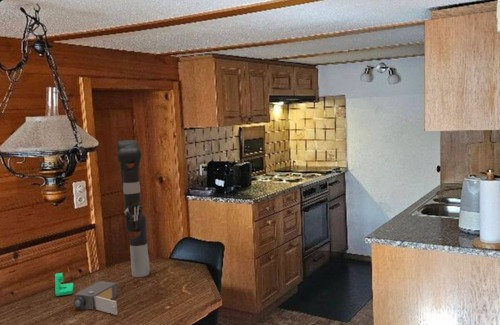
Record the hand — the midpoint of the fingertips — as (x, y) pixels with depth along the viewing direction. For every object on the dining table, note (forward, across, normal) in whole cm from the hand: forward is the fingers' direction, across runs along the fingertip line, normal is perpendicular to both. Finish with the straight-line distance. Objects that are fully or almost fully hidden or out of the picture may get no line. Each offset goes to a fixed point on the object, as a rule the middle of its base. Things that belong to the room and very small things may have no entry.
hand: (134, 228), depth 228 cm
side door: (+35, +15, -8) cm, 39 cm away
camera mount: (+35, -1, -44) cm, 57 cm away
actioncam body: (+35, +6, -20) cm, 41 cm away
